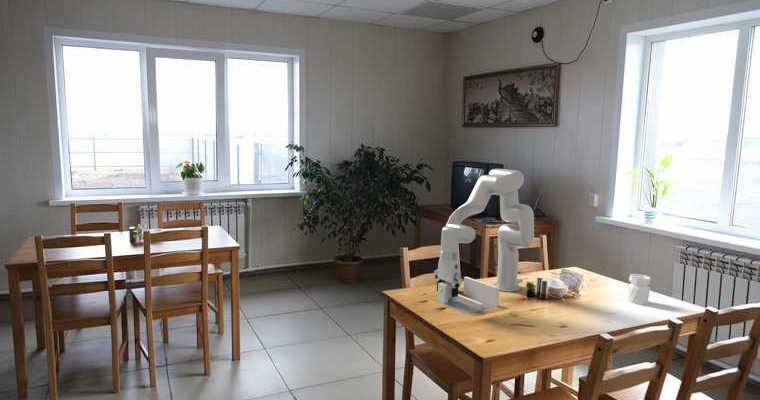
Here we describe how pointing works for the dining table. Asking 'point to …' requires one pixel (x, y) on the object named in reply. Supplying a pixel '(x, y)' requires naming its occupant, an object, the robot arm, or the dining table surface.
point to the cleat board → (475, 297)
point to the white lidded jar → (638, 289)
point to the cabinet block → (445, 292)
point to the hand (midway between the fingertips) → (447, 293)
